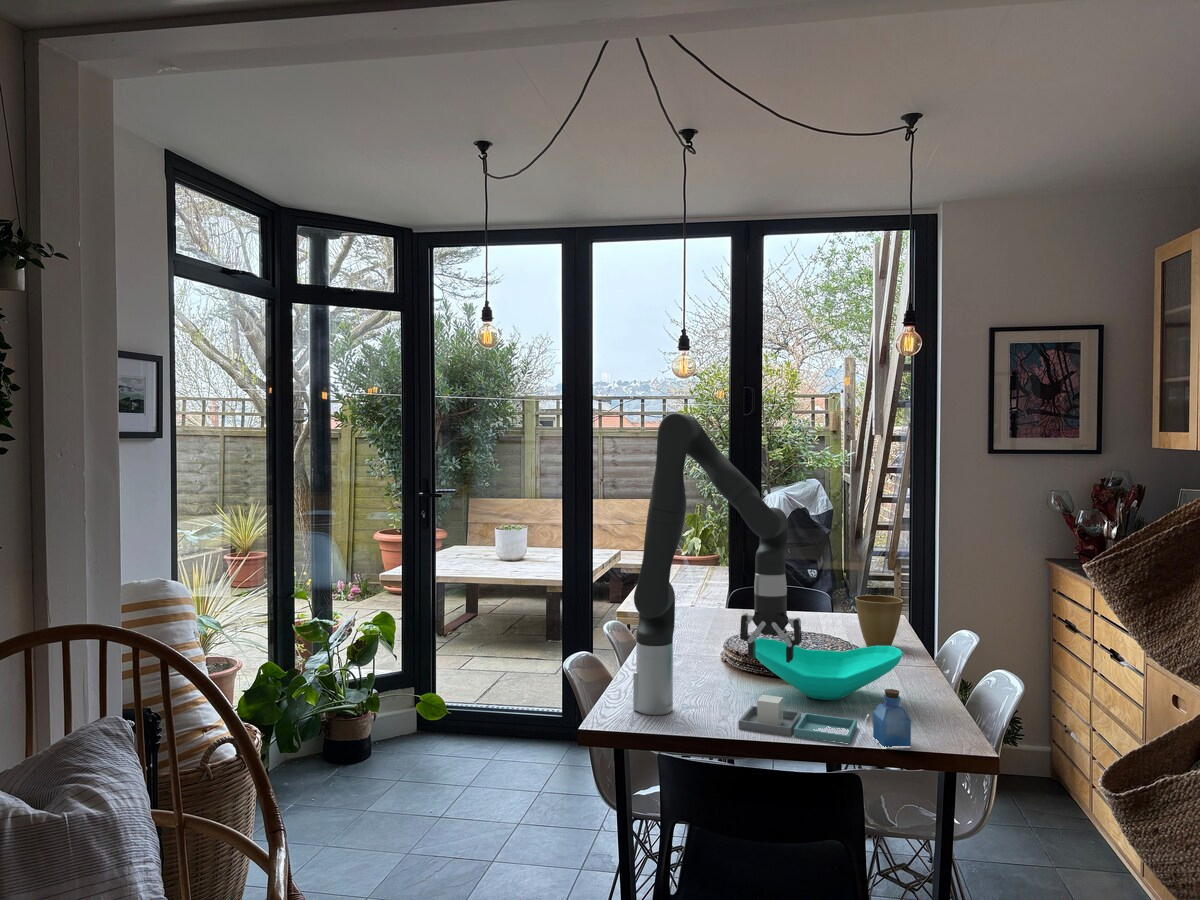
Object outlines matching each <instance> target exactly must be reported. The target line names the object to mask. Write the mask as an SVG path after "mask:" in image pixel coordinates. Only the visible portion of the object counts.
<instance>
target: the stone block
mask: <svg viewBox="0 0 1200 900" xmlns="http://www.w3.org/2000/svg"><path fill="white" fill-rule="evenodd" d="M756 706H757V723H764V724H771V725H778V726H781V724H782V723H783V710H784V697H782V696H775V695H769V694H768V695H767V694H762V695H761V696H760V697H759V698H758V700H757V705H756Z"/></svg>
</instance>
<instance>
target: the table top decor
mask: <svg viewBox="0 0 1200 900" xmlns="http://www.w3.org/2000/svg"><path fill="white" fill-rule="evenodd" d="M754 642H756V657H755V659H757V660H758V662H759V663H761V664H762V665H763V666H764V667H765V668H767V669H768V670H769V671H771V672H772V673H773V674H775V675H776V676H777V677H779V678H780V679H781V680H783V681H784V682H785V683H787V684H789V685H790V686H791V687H793V688H794V689H796V690H797V691H799V692H800V693H802V694H803V695H805V696H807V697H808V698H811V699H814V700H815V699H816V700H820V701H821V700H822V701H837V700H841V699H844V698H845V697H846V696H849V695H850V694H852V693H854V692H856V691H858V690H860V689H862V688H864V687H865V686H868V685H869V684H871V683H873V682H875V681H877V680H879V679H880V678H882V677H883V676H885V675H887V674H888V673H889V672H891V671H893V669H894V668H896V667H897V665H898V664H899V663H900V662H901V659H902V657H903V655H904V652H903V651H902V650H901V649H900V648H898V647H894V646H893V645H891V646H871V647H867V646H865V647H859V648H854V649H850V650H845V651H837V650H825V649H824V650H822V649H805V648H802V647H800V646H798V645H795V646H794V657H793V659H792V660H791V662H790V663H787V662H786V647H787V644H786V643H785V642H784V641H780V640H777V639H773V638H770V639H769V638H765V637H764V638H762V637H760V638H756V639H755V640H754Z"/></svg>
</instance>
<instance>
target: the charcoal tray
mask: <svg viewBox="0 0 1200 900" xmlns="http://www.w3.org/2000/svg"><path fill="white" fill-rule="evenodd" d="M801 717H802V712H801V711H794V710H786V709H783V723H782V724H781V726H778V725H771V724H764V723H757V705H751V706H750V707H749V708H748V709H747V710H746V711H745V712H744V713H743V715H742V716H741V717H740V718H739V719H738V722H737V723H738V724H737V726H738V729H739V730H740V729H741V730H746V731H753V732H758V733H759V732H760V733H765V734H766V733H767V734H774V735H779V736H787V737H792V734H794V728H795V726H796V725H797V723H798V722H799V720H800V719H801Z"/></svg>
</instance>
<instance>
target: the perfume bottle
mask: <svg viewBox="0 0 1200 900" xmlns="http://www.w3.org/2000/svg"><path fill="white" fill-rule="evenodd" d="M883 701H884V702H879V704H878V705H877V706H876V708H875V709H874V710H873V711H872V712H873V713H872V714H873V716H872V719H873V720H872V723H873V724H872V725H873V729H872V730H873V731H872V738H873V737H874V738H875V739H877V740H878V741H879V743H880V744H881V745H882V746H884V747H885V746H886V747H888V746H889V747H892V746H912V721H911V719H910V717H909V715H908V713H907V711H906V709H905V708H904V707H903V706H902V705H900V702H901V696H900V690H898V689H894V688H886V689H884V695H883Z"/></svg>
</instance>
